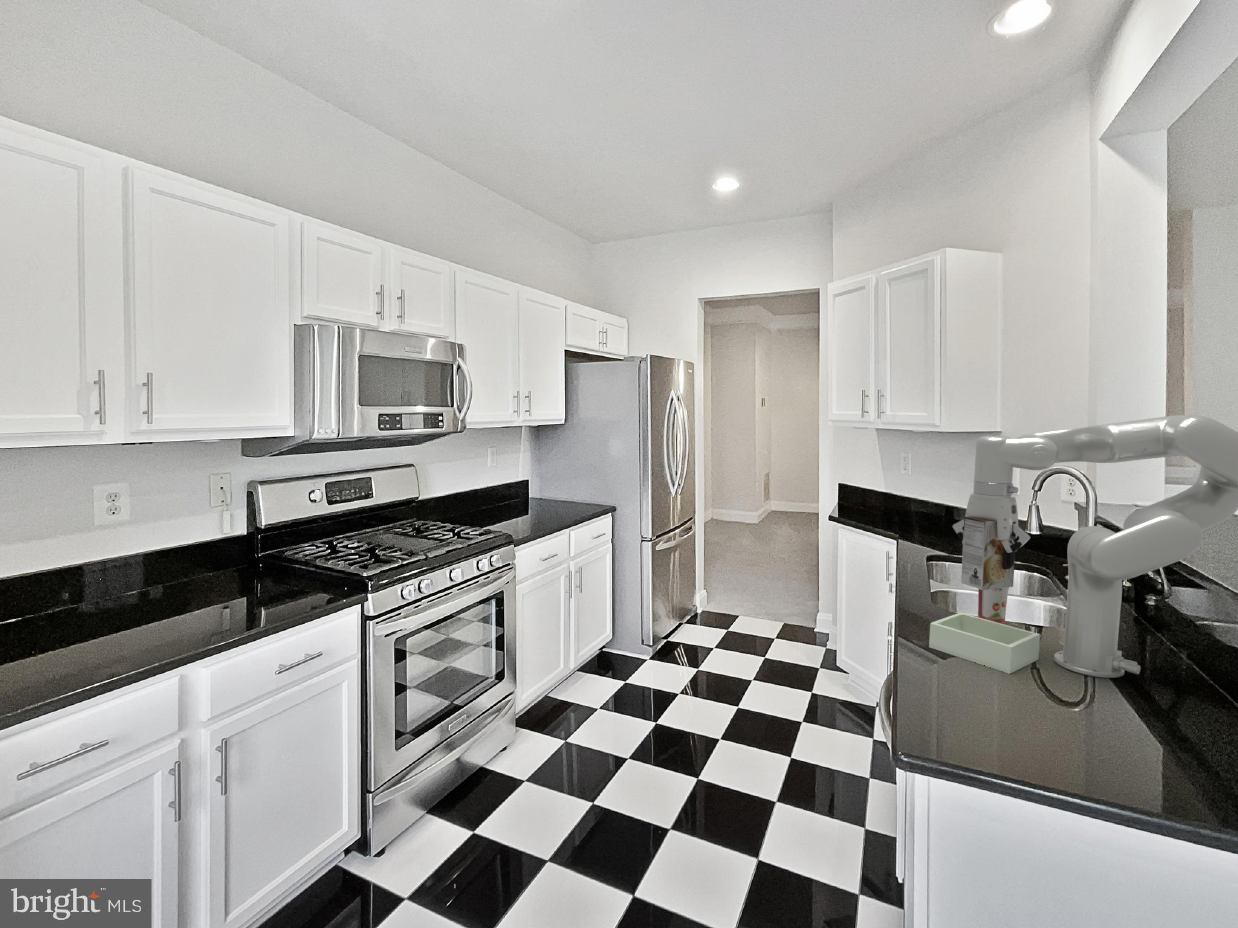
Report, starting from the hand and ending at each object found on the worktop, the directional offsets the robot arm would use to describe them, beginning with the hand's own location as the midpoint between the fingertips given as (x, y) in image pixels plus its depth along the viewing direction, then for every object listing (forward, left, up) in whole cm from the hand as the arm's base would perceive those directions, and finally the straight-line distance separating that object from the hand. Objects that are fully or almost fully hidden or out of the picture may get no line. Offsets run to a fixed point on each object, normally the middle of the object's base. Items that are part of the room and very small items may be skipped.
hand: (987, 564), depth 144 cm
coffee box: (0, 0, -5) cm, 5 cm away
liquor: (+6, -17, -22) cm, 28 cm away
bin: (0, 0, -21) cm, 21 cm away
